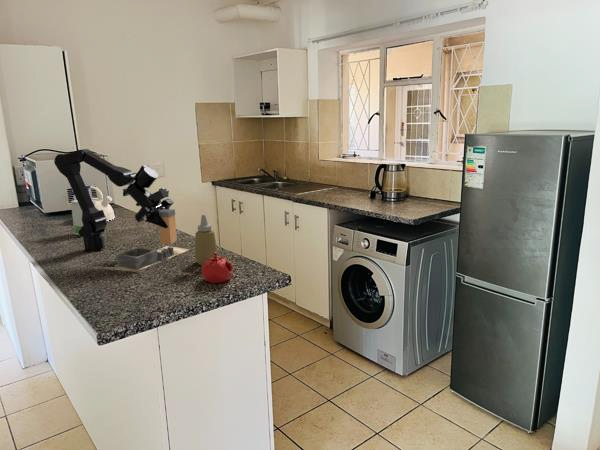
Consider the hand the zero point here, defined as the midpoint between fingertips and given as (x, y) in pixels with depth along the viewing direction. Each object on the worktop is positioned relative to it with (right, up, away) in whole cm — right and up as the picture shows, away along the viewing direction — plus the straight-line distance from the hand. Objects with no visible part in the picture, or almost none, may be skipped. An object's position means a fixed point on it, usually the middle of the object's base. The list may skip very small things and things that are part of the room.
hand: (170, 226), depth 170 cm
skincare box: (-49, -4, +37) cm, 61 cm away
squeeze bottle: (+16, -14, -11) cm, 24 cm away
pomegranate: (+23, -17, -26) cm, 39 cm away
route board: (-5, -12, -4) cm, 14 cm away
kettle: (-58, +3, +65) cm, 87 cm away
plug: (-1, -6, +2) cm, 6 cm away
